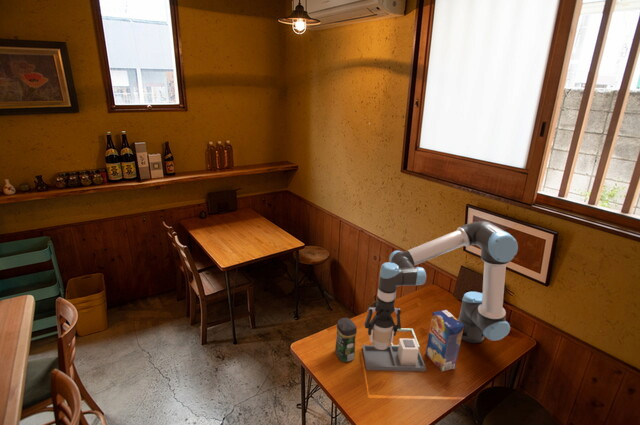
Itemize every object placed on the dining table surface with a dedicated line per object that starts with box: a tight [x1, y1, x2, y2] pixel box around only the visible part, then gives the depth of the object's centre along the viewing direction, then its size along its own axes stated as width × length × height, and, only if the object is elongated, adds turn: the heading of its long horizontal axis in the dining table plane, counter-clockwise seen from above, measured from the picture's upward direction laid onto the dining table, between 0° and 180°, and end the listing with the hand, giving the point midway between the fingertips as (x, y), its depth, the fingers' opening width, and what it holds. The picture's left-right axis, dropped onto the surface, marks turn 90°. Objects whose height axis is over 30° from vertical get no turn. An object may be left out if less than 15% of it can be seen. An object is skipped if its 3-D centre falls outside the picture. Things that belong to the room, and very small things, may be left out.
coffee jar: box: [334, 317, 358, 363], centre depth 162 cm, size 10×8×19 cm
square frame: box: [389, 327, 421, 349], centre depth 176 cm, size 14×14×2 cm
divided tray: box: [362, 344, 427, 372], centre depth 162 cm, size 26×14×3 cm, turn 91°
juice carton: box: [425, 309, 464, 372], centre depth 159 cm, size 12×8×24 cm, turn 20°
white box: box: [397, 337, 420, 366], centre depth 161 cm, size 7×7×9 cm
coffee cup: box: [372, 317, 393, 350], centre depth 157 cm, size 9×9×15 cm
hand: (380, 340), depth 158 cm, fingers closed on coffee cup, 8 cm apart
